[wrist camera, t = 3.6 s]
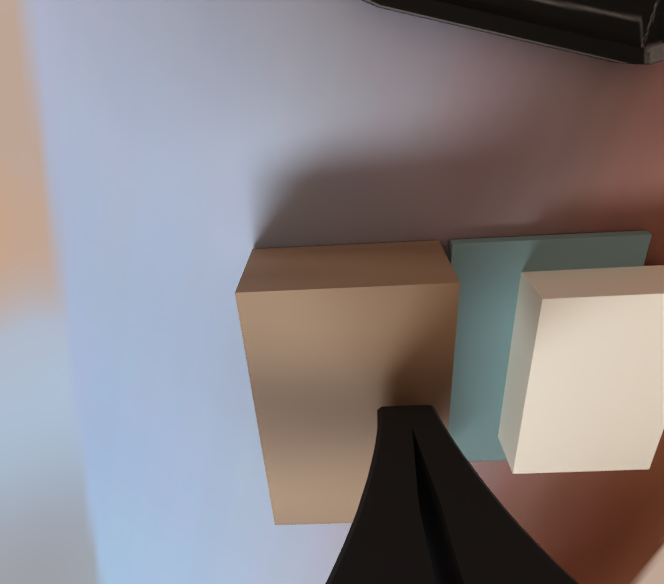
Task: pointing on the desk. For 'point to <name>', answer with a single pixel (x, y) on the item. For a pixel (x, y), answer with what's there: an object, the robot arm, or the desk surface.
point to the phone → (557, 23)
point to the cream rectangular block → (585, 371)
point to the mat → (509, 317)
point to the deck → (341, 361)
